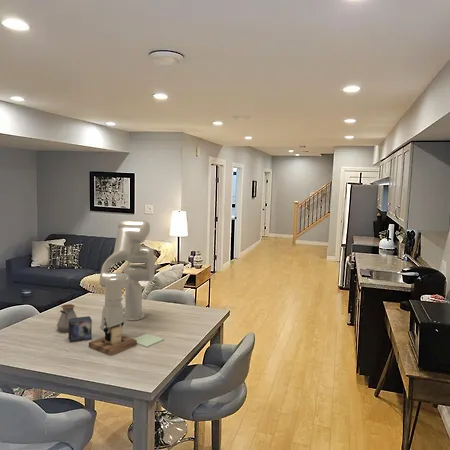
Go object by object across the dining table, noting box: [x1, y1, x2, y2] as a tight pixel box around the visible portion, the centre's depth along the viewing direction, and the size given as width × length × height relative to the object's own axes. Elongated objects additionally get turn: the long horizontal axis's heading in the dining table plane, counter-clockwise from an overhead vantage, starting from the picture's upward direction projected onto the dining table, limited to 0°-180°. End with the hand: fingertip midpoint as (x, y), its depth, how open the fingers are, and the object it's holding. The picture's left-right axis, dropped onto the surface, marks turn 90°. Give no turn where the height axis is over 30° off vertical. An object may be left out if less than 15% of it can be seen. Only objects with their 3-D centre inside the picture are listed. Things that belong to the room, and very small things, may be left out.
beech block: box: [105, 325, 122, 346], centre depth 199 cm, size 6×6×10 cm
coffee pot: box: [56, 303, 78, 333], centre depth 215 cm, size 21×12×15 cm, turn 7°
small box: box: [67, 315, 93, 343], centre depth 207 cm, size 11×6×10 cm, turn 118°
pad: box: [134, 333, 165, 348], centre depth 208 cm, size 12×12×1 cm
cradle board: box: [88, 334, 138, 357], centre depth 200 cm, size 16×16×2 cm
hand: (113, 338), depth 199 cm, fingers open, 5 cm apart
